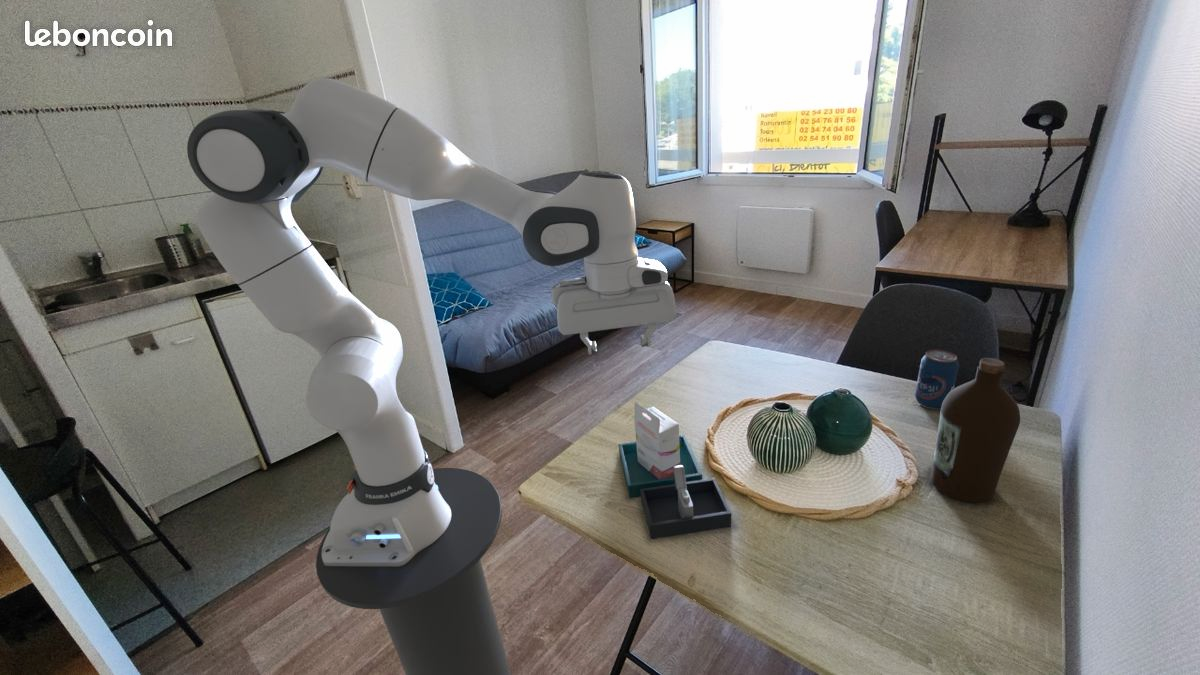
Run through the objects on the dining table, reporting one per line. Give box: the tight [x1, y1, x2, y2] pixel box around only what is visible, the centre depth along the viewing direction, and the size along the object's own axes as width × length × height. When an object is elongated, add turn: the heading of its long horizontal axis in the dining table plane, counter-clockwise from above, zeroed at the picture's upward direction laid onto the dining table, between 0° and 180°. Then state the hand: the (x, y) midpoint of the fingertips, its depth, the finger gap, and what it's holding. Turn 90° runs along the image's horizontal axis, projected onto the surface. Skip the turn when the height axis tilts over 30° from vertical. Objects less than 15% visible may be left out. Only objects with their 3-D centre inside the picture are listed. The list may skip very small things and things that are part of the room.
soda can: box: [914, 349, 960, 410], centre depth 111 cm, size 7×7×12 cm
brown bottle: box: [930, 357, 1021, 504], centre depth 85 cm, size 11×11×25 cm
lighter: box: [673, 465, 693, 519], centre depth 89 cm, size 7×2×8 cm, turn 6°
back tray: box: [618, 434, 703, 499], centre depth 101 cm, size 14×13×3 cm
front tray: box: [640, 477, 732, 540], centre depth 90 cm, size 14×9×3 cm, turn 96°
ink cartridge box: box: [633, 401, 680, 479], centre depth 99 cm, size 9×5×15 cm, turn 32°
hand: (619, 349), depth 88 cm, fingers open, 8 cm apart
